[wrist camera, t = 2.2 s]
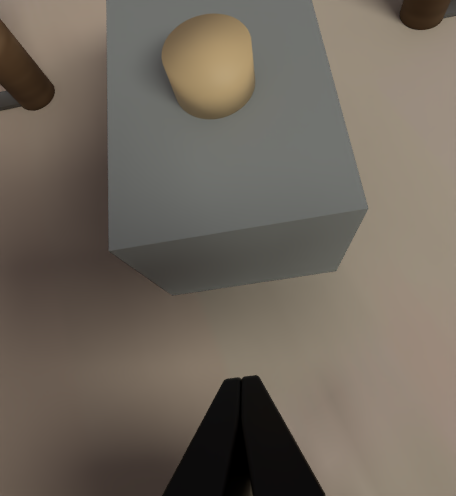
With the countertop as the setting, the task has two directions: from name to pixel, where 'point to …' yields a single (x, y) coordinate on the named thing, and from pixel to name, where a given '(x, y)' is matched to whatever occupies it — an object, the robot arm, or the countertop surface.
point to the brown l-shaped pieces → (42, 90)
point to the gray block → (225, 144)
